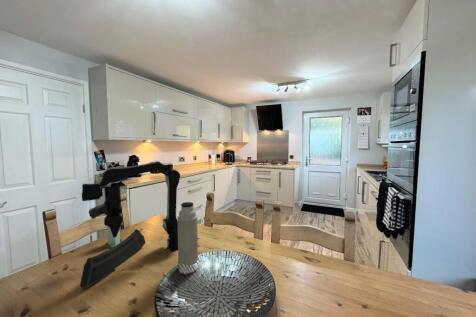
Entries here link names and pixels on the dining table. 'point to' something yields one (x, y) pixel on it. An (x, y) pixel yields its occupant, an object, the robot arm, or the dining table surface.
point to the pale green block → (112, 239)
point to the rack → (109, 245)
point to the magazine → (111, 259)
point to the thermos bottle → (187, 235)
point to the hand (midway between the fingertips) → (115, 232)
